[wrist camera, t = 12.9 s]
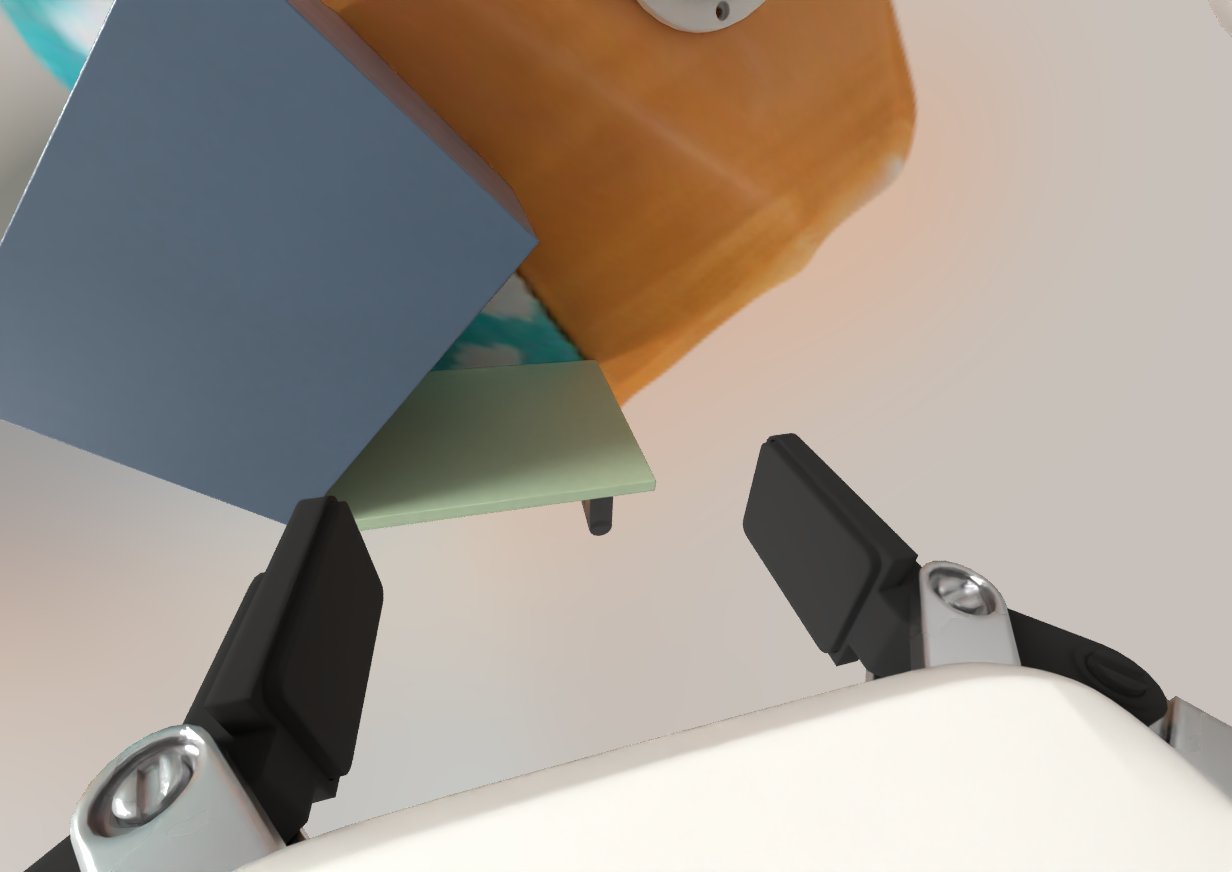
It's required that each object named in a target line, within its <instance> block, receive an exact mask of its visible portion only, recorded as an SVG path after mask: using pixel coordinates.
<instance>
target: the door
mask: <svg viewBox="0 0 1232 872" xmlns="http://www.w3.org/2000/svg"><path fill="white" fill-rule="evenodd" d="M655 485H656V480H655V478H654V476H653V474H652V472H651V470H650V467H649V465H648V463H647V461H646V459H645V457H644V455H643V453H642V451H641V449H640V448H639V445H638V443H637V441H636V439H635V437H634V435H633V433H632V431H631V429H630V427H629V425H628V423H627V421H626V419H625V417H624V415H623V413H622V411H621V409H620V407H619V405H618V403H617V401H616V399H615V397H614V395H613V393H612V391H611V389H610V387H609V385H608V382H607V380H606V378H605V376H604V374H603V372H602V370H601V368H600V366H599V364H598V362H597V360H584V361H569V362H554V363H540V364H525V365H511V366H496V367H481V368H467V369H452V370H438V371H430V372H429V373H428V374H427V375H426V377H425V378H424V379H423V380H422V381H421V382H420V384H419V385H418V386H417V387H416V388H415V390H414V391H413V392H412V393H411V394H410V395H409V397H408V398H407V399H406V400H405V401H404V402H403V404H402V405H401V406H400V407H399V408H398V410H397V411H396V412H395V413H394V414H393V415H392V417H391V418H390V419H389V420H388V421H387V423H386V424H385V425H384V426H383V427H382V428H381V430H380V431H379V432H378V433H377V434H376V435H375V437H374V438H373V439H372V440H371V441H370V443H369V444H368V445H367V446H366V447H365V448H364V450H363V451H362V452H361V453H360V454H359V456H358V457H357V458H356V459H355V460H354V461H353V463H352V464H351V465H350V466H349V467H348V468H347V470H346V471H345V472H344V473H343V474H342V476H341V477H340V478H339V479H338V480H337V481H336V483H335V484H334V485H333V486H332V487H331V489H330V490H329V491H328V492H327V493H326V494H325V496H335V497H336V498H337V500H338V502H340V501H346V502H347V503H348V505H349V507H350V510H351V512H352V515H353V517H354V519H355V522H356V524H357V527H358V529H359V531H362V530H369V529H377V528H384V527H392V526H399V525H406V524H413V523H420V522H427V521H435V520H442V519H450V518H457V517H465V516H472V515H479V514H487V513H494V512H501V511H508V510H516V509H523V508H530V507H538V506H545V505H552V504H560V503H566V502H574V501H582V505H583V508H584V512H585V516H586V519H587V523H588V527H589V530H590V532H591V533H592V534H593V535H597V536H600V535H604V534H606V533H608V532H609V531H610V529H611V527H612V508H613V496H618V495H625V494H632V493H639V492H647V491H654V490H655Z"/></svg>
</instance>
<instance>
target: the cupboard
mask: <svg viewBox="0 0 1232 872" xmlns="http://www.w3.org/2000/svg"><path fill="white" fill-rule="evenodd" d="M538 243H539V240H538V238H537V236H536V234H535V232H534V230H533V228H532V226H531V224H530V222H529V220H528V218H527V216H526V214H525V212H524V210H523V208H522V206H521V204H520V202H519V200H518V198H517V196H516V194H515V192H514V191H513V189H512V187H511V186H510V185H509V184H508V183H507V182H506V181H505V180H504V179H503V178H502V177H501V176H500V175H499V174H498V173H497V172H496V171H495V170H494V169H493V168H492V167H491V166H490V165H489V164H488V163H487V162H486V161H485V160H484V159H483V158H482V157H481V156H480V155H479V154H478V153H477V152H476V151H475V150H474V149H473V148H472V147H471V146H470V145H469V144H468V143H467V142H466V141H465V140H464V139H463V138H462V137H461V136H460V135H459V134H458V133H457V132H456V131H455V130H454V129H453V128H452V127H451V126H450V125H449V124H448V123H447V122H446V121H445V120H444V119H443V118H442V117H441V116H440V115H439V114H438V113H437V112H436V111H435V110H434V109H433V108H432V107H431V106H430V105H429V104H428V103H427V102H426V101H425V100H424V99H423V98H422V97H421V96H420V95H419V94H418V93H417V92H416V91H415V90H414V89H413V88H412V87H411V86H410V85H409V84H408V83H406V82H405V81H404V80H403V79H402V78H401V77H400V76H399V75H398V74H397V73H396V72H395V71H394V70H393V69H392V68H391V67H390V66H389V65H388V64H387V63H386V62H385V61H384V60H383V59H382V58H381V57H380V56H379V55H378V54H377V53H376V52H375V51H374V50H373V49H372V48H371V47H370V46H369V45H368V44H367V43H366V42H365V41H364V40H363V39H362V38H361V37H360V36H359V35H358V34H357V33H356V32H355V31H354V30H353V29H352V28H351V27H350V26H349V25H348V24H347V23H346V22H345V21H344V20H343V19H342V18H341V17H340V16H339V15H338V14H337V13H336V12H335V11H333V10H332V9H331V8H329V7H328V6H327V5H325V4H324V3H323V2H321V1H320V0H114V2H113V4H112V6H111V8H110V10H109V12H108V14H107V16H106V19H105V21H104V23H103V25H102V27H101V29H100V31H99V34H98V36H97V38H96V40H95V42H94V44H93V46H92V48H91V51H90V53H89V55H88V57H87V59H86V61H85V63H84V66H83V68H82V70H81V72H80V74H79V76H78V78H77V80H76V83H75V85H74V87H73V89H72V91H71V93H70V95H69V97H68V100H67V102H66V104H65V106H64V108H63V110H62V112H61V115H60V117H59V119H58V121H57V123H56V125H55V127H54V130H53V132H52V134H51V136H50V138H49V140H48V142H47V144H46V147H45V149H44V151H43V153H42V155H41V157H40V159H39V161H38V164H37V166H36V168H35V170H34V172H33V174H32V177H31V179H30V181H29V183H28V185H27V187H26V189H25V191H24V193H23V196H22V198H21V200H20V202H19V204H18V206H17V209H16V211H15V213H14V215H13V217H12V219H11V221H10V223H9V226H8V228H7V230H6V232H5V234H4V236H3V238H2V240H1V243H0V420H3V421H5V422H8V423H11V424H14V425H16V426H19V427H22V428H25V429H27V430H30V431H33V432H35V433H38V434H41V435H44V436H46V437H49V438H52V439H55V440H57V441H60V442H63V443H65V444H68V445H71V446H73V447H76V448H79V449H82V450H84V451H87V452H90V453H92V454H95V455H98V456H101V457H104V458H106V459H109V460H112V461H114V462H117V463H120V464H122V465H125V466H128V467H131V468H134V469H136V470H139V471H141V472H144V473H147V474H150V475H152V476H155V477H158V478H161V479H163V480H166V481H169V482H172V483H174V484H177V485H180V486H182V487H185V488H188V489H191V490H193V491H196V492H199V493H201V494H204V495H207V496H210V497H212V498H215V499H218V500H221V501H223V502H226V503H229V504H231V505H234V506H237V507H240V508H242V509H245V510H248V511H250V512H253V513H256V514H259V515H261V516H264V517H267V518H269V519H273V520H275V521H278V522H280V523H283V524H286V525H287V524H288V522H289V520H290V518H291V515H292V513H293V511H294V509H295V507H296V505H297V503H298V502H299V501H300V500H302V499H309V498H317V497H324V496H325V494H326V493H327V492H328V491H329V490H330V489H331V487H332V486H333V485H334V484H335V483H336V481H337V480H338V479H339V478H340V477H341V476H342V474H343V473H344V472H345V471H346V470H347V468H348V467H349V466H350V465H351V464H352V463H353V461H354V460H355V459H356V458H357V457H358V456H359V454H360V453H361V452H362V451H363V450H364V448H365V447H366V446H367V445H368V444H369V443H370V441H371V440H372V439H373V438H374V437H375V435H376V434H377V433H378V432H379V431H380V430H381V428H382V427H383V426H384V425H385V424H386V423H387V421H388V420H389V419H390V418H391V417H392V415H393V414H394V413H395V412H396V411H397V410H398V408H399V407H400V406H401V405H402V404H403V402H404V401H405V400H406V399H407V398H408V397H409V395H410V394H411V393H412V392H413V391H414V390H415V388H416V387H417V386H418V385H419V384H420V382H421V381H422V380H423V379H424V378H425V377H426V375H427V374H428V373H429V372H430V371H431V369H432V368H433V367H434V366H435V365H436V364H437V362H438V361H439V360H440V359H441V358H442V357H443V355H444V354H445V353H446V352H447V351H448V349H449V348H450V347H451V346H452V345H453V344H454V342H455V341H456V340H457V339H458V338H459V336H460V335H461V334H462V333H463V332H464V331H465V329H466V328H467V327H468V326H469V325H470V324H471V322H472V321H473V320H474V319H475V318H476V316H477V315H478V314H479V313H480V312H481V311H482V309H483V308H484V307H485V306H486V305H487V303H488V302H489V301H490V300H491V299H492V298H493V296H494V295H495V294H496V293H497V292H498V291H499V289H500V288H501V287H502V286H503V285H504V283H505V282H506V281H507V280H508V279H509V278H510V276H511V275H512V274H513V273H514V272H515V270H516V269H517V268H518V267H519V266H520V265H521V263H522V262H523V261H524V260H525V259H526V258H527V256H528V255H529V254H530V253H531V252H532V250H533V249H534V248H535V247H536V246H537V245H538Z"/></svg>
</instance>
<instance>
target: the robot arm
mask: <svg viewBox="0 0 1232 872" xmlns="http://www.w3.org/2000/svg"><path fill="white" fill-rule="evenodd" d="M636 1H637V2H638V3H639V4H640V5H641V6H642V8H643V9H644V10H645V11H647V12H648V13H649V14H650V15H652V16H653V17H654V18H656V19H657V20H658V21H659V22H661V23H663V24H665V25H668V26H670V27H672V28H674V29H676V30H680V31H686V32H692V33H702V32H712V31H716V30H719V29H722V28H725V27H728V26H730V25H732V24H734V23H736V22H738V21H740V20H742V19H744V18H746V17H747V16H748V15H749V14H751V13H752V12H753V11H754V10H756V9H757V8H758V7H759V6H760V5H762V4H763V2H764V1H765V0H636ZM1209 3H1210V6H1211V8H1212V10H1213V12H1214V13H1215V15H1216V17H1217V18H1218V21H1219V22H1220V24H1221V26H1222V27H1223V28H1224V29H1225V30H1226V31H1227V32H1228V33H1229V35H1230V36H1232V0H1209ZM716 8H718V9H719V11H720V16H719V18H717V15H716ZM743 528H744V532H745V534H746V536H747V538H748V539H749V541H750V542H751V544H752V545H753V547H754V549H755V550H756V552H757V553H758V555H759V556H760V558H761V559H762V561H763V562H764V564H765V566H766V567H767V568H768V570H769V572H770V573H771V575H772V576H773V578H774V579H775V581H776V582H777V584H778V586H779V587H780V589H781V590H782V592H783V593H784V595H785V597H786V598H787V600H788V601H789V602H790V604H791V606H792V607H793V609H794V610H795V612H796V613H797V615H798V617H799V618H800V620H801V621H802V623H803V624H804V626H805V627H806V629H807V631H808V632H809V634H810V635H811V637H812V638H813V640H814V642H815V643H816V644H817V646H818V647H819V649H820V650H821V651H822V652H824V653H828V654H829V655H830V657H831V658H832V660H833V661H834V663H835V664H836V666H839V665H843V664H847V663H851V662H855V661H858V659H860V661H861V662H862V664H863V665H864V666H865V668H866V682H864V683H860V684H856V685H852V686H848V687H844V688H841V689H837V690H833V691H829V692H826V693H822V694H818V695H814V696H810V697H807V698H803V699H800V700H796V701H792V702H788V703H784V704H781V705H777V706H773V707H769V708H766V709H762V710H758V711H754V712H751V713H747V714H744V715H739V716H736V717H732V718H728V719H725V720H721V721H718V722H714V723H710V724H706V725H703V726H699V727H695V728H692V729H688V730H684V731H681V732H677V733H673V734H670V735H666V736H663V737H659V738H655V739H651V740H648V741H644V742H640V743H637V744H633V745H629V746H626V747H622V748H619V749H615V750H611V751H607V752H604V753H601V754H597V755H593V756H590V757H586V758H582V759H579V760H575V761H571V762H568V763H565V764H561V765H557V766H553V767H550V768H547V769H543V770H539V771H535V772H532V773H528V774H525V775H521V776H518V777H514V778H510V779H507V780H503V781H499V782H496V783H492V784H489V785H485V786H482V787H478V788H474V789H471V790H467V791H463V792H460V793H456V794H453V795H449V796H446V797H442V798H439V799H436V800H432V801H429V802H425V803H422V804H419V805H416V806H412V807H409V808H405V809H402V810H398V811H395V812H392V813H388V814H385V815H382V816H378V817H375V818H372V819H368V820H365V821H362V822H358V823H355V824H351V825H348V826H345V827H342V828H339V829H336V830H333V831H330V832H327V833H324V834H322V835H319V836H316V837H313V838H309V836H308V835H307V833H306V832H305V830H304V829H303V826H304V825H305V823H307V821H308V818H309V814H310V810H311V805H312V803H315V802H319V801H322V800H326V799H330V798H334V797H336V792H337V787H338V782H339V778H340V776H344V775H346V774H348V772H349V770H350V768H351V764H352V760H353V755H354V750H355V745H356V739H357V734H358V729H359V724H360V719H361V713H362V708H363V703H364V697H365V692H366V687H367V682H368V677H369V671H370V667H371V662H372V656H373V651H374V646H375V641H376V636H377V630H378V625H379V620H380V615H381V610H382V604H383V587H382V584H381V581H380V579H379V577H378V574H377V572H376V570H375V567H374V565H373V563H372V560H371V558H370V555H369V553H368V550H367V548H366V546H365V543H364V541H363V539H362V536H361V534H360V531H359V529H358V527H357V524H356V522H355V519H354V517H353V515H352V512H351V510H350V507H349V505H348V503H347V502H346V501H340V502H338V500H337V498H336V497H335V496H324V497H317V498H309V499H302V500H300V501H299V502H298V503H297V505H296V507H295V509H294V511H293V513H292V515H291V518H290V520H289V522H288V524H287V526H286V529H285V531H284V533H283V535H282V537H281V539H280V541H279V544H278V546H277V548H276V550H275V552H274V554H273V556H272V559H271V561H270V563H269V565H268V567H267V569H266V571H265V572H264V573H260V574H259V575H257V576H256V577H255V578H254V580H253V581H252V583H251V584H250V586H249V588H248V590H247V592H246V595H245V596H244V598H243V601H242V603H241V605H240V607H239V609H238V611H237V613H236V615H235V617H234V619H233V621H232V624H231V626H230V628H229V630H228V632H227V634H226V636H225V638H224V640H223V642H222V644H221V646H220V648H219V650H218V652H217V654H216V657H215V659H214V661H213V663H212V665H211V667H210V669H209V671H208V673H207V675H206V677H205V679H204V681H203V683H202V685H201V687H200V689H199V691H198V694H197V696H196V698H195V700H194V702H193V704H192V706H191V708H190V710H189V712H188V714H187V716H186V718H185V720H184V723H183V725H177V726H171V727H168V728H165V729H162V730H160V731H157V732H155V733H152V734H150V735H148V736H146V737H145V738H143V739H141V740H139V741H138V742H136V743H134V744H133V745H131V746H129V747H128V748H127V749H126V750H124V751H123V752H122V753H121V754H119V755H118V756H117V757H116V758H115V759H113V760H112V761H111V762H109V763H108V764H107V766H106V767H105V768H104V769H103V770H102V771H101V772H100V773H99V774H98V775H97V776H96V777H95V778H94V779H93V781H92V782H91V783H90V784H89V786H88V787H87V789H86V791H85V792H84V793H83V795H82V797H81V798H80V800H79V801H78V803H77V805H76V808H75V811H74V813H73V816H72V819H71V822H70V835H69V836H68V837H66V838H65V839H64V840H63V841H61V842H60V843H59V844H58V845H57V846H55V847H54V848H53V849H52V850H50V851H49V852H48V853H46V854H45V855H44V856H43V857H42V858H40V859H39V860H38V861H37V862H35V863H34V864H33V865H31V866H30V867H29V868H28V869H27V870H25V871H24V872H1232V727H1231V726H1229V725H1227V724H1226V723H1223V722H1222V721H1220V720H1218V719H1216V718H1214V717H1213V716H1211V715H1209V714H1208V713H1206V712H1204V711H1202V710H1200V709H1199V708H1197V707H1195V706H1193V705H1191V704H1190V703H1188V702H1186V701H1184V700H1182V699H1181V698H1179V697H1177V696H1175V697H1174V698H1172V699H1171V700H1170V701H1169V700H1167V699H1166V697H1165V695H1164V693H1163V691H1162V690H1161V688H1160V686H1159V685H1158V684H1157V683H1156V682H1155V681H1154V680H1153V679H1152V677H1151V676H1150V675H1149V674H1148V673H1147V672H1146V671H1145V670H1143V669H1142V668H1141V667H1140V666H1138V665H1137V664H1136V663H1135V662H1133V661H1132V660H1130V659H1129V658H1127V657H1125V656H1124V655H1122V654H1121V653H1119V652H1117V651H1115V650H1113V649H1111V648H1109V647H1106V646H1105V645H1103V644H1100V643H1097V642H1094V641H1092V640H1089V639H1087V638H1084V637H1082V636H1079V635H1076V634H1074V633H1071V632H1068V631H1066V630H1063V629H1060V628H1058V627H1055V626H1052V625H1050V624H1047V623H1045V622H1042V621H1039V620H1037V619H1034V618H1032V617H1029V616H1026V615H1023V614H1021V613H1018V612H1016V611H1013V610H1010V609H1008V608H1007V606H1006V603H1005V601H1004V599H1003V597H1002V595H1001V593H1000V592H999V591H998V590H997V589H996V588H995V586H994V585H993V584H992V583H991V582H989V581H988V580H987V579H986V578H984V577H983V576H982V575H980V574H978V573H977V572H975V571H973V570H971V569H970V568H967V567H964V566H962V565H960V564H957V563H952V562H947V561H932V562H929V563H926V564H925V565H924V566H923V567H921V566H920V565H919V564H918V563H917V562H916V561H915V560H916V559H917V557H918V555H917V554H916V553H915V552H914V551H913V550H912V549H911V548H910V547H909V546H908V545H907V544H906V543H905V542H904V541H903V540H902V539H901V538H900V537H899V536H898V535H897V534H896V533H895V532H894V531H893V530H892V529H891V528H890V527H889V526H888V525H887V524H886V523H885V522H884V521H883V520H882V519H881V518H880V517H879V516H878V515H877V514H876V513H875V512H874V511H873V510H872V509H871V508H870V507H869V506H868V505H867V504H866V503H865V502H864V501H863V500H862V499H861V498H860V497H859V496H858V495H857V494H856V493H855V492H854V491H853V490H852V489H851V488H850V487H849V486H848V485H847V484H846V483H845V482H844V481H843V480H842V479H841V478H840V477H839V476H838V475H837V474H836V473H835V472H834V471H833V470H832V469H830V467H829V466H828V465H827V464H826V463H825V462H824V461H823V460H822V459H821V458H820V457H818V455H816V454H815V453H814V451H813V450H811V449H810V448H809V447H808V446H807V445H806V444H805V443H804V442H803V441H802V440H801V439H800V438H799V437H798V436H797V435H796V434H793V433H789V434H782V435H775V436H770V437H769V438H768V439H767V442H766V443H763V444H762V446H761V449H760V453H759V457H758V461H757V466H756V470H755V474H754V478H753V482H752V486H751V490H750V494H749V498H748V502H747V507H746V511H745V515H744V519H743Z"/></svg>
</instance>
